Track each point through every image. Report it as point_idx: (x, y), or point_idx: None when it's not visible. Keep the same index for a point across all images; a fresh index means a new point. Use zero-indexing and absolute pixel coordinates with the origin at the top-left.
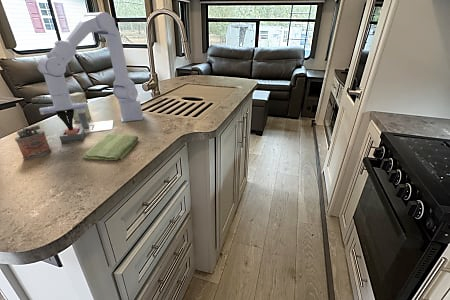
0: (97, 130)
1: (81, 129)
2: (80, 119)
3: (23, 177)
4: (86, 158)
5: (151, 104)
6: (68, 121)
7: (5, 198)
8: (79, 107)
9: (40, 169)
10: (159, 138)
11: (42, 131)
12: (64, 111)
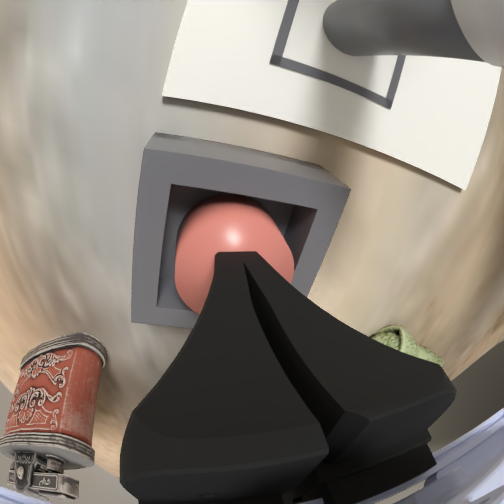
0: (407, 154)
1: (320, 242)
2: (393, 30)
3: (92, 440)
4: None
5: None
6: (249, 298)
7: (99, 466)
8: (472, 455)
9: (120, 432)
10: (464, 353)
11: (80, 457)
12: (278, 493)
